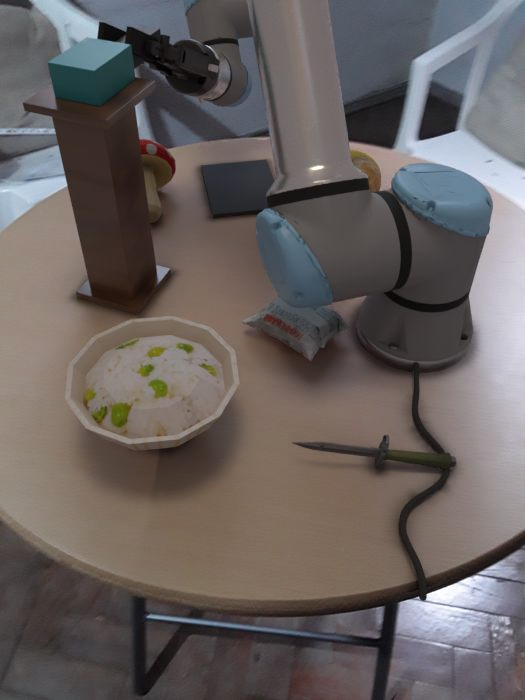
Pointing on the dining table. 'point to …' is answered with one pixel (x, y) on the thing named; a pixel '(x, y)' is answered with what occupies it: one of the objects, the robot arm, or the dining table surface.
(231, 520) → the dining table surface
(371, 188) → the fruit
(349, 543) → the dining table surface
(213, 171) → the mat
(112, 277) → the stand
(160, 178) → the decorative mushroom
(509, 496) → the dining table surface
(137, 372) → the bowl
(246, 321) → the packaged food
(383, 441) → the knife
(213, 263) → the dining table surface
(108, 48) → the teal long block
